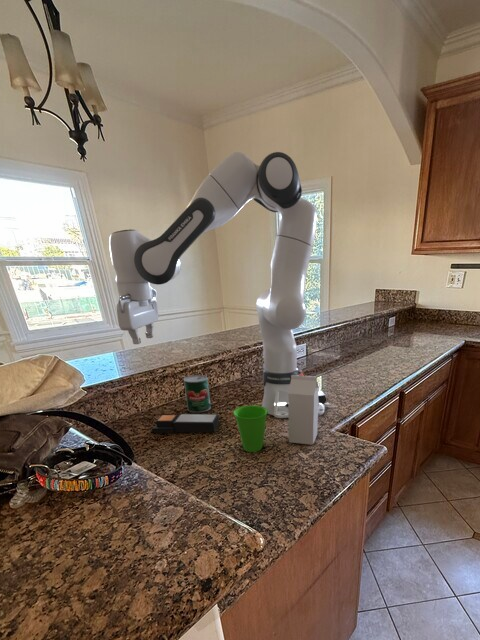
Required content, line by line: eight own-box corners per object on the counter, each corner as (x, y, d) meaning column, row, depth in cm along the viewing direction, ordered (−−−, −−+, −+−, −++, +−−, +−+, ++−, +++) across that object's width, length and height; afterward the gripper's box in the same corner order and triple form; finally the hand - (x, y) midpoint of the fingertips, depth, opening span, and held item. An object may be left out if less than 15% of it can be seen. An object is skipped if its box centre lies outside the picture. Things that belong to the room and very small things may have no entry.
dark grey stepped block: (219, 422, 113) (218, 413, 112) (213, 433, 106) (212, 423, 104) (162, 422, 113) (160, 412, 111) (152, 432, 106) (150, 422, 104)
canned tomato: (194, 414, 119) (189, 383, 114) (183, 408, 124) (179, 377, 119) (215, 409, 124) (211, 378, 119) (204, 402, 129) (200, 373, 124)
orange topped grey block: (179, 424, 111) (177, 414, 110) (173, 431, 107) (172, 421, 106) (163, 424, 111) (161, 414, 110) (157, 431, 107) (155, 421, 105)
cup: (276, 448, 98) (274, 411, 93) (249, 459, 92) (246, 421, 87) (256, 437, 104) (254, 402, 99) (230, 447, 98) (226, 410, 93)
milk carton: (313, 445, 100) (314, 380, 92) (288, 442, 101) (287, 378, 93) (317, 434, 106) (319, 373, 98) (294, 432, 107) (294, 371, 99)
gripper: (129, 296, 94) (139, 348, 100) (158, 290, 113) (165, 335, 119) (106, 295, 94) (117, 347, 100) (138, 290, 112) (146, 334, 118)
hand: (143, 340), depth 109 cm, fingers open, 8 cm apart
